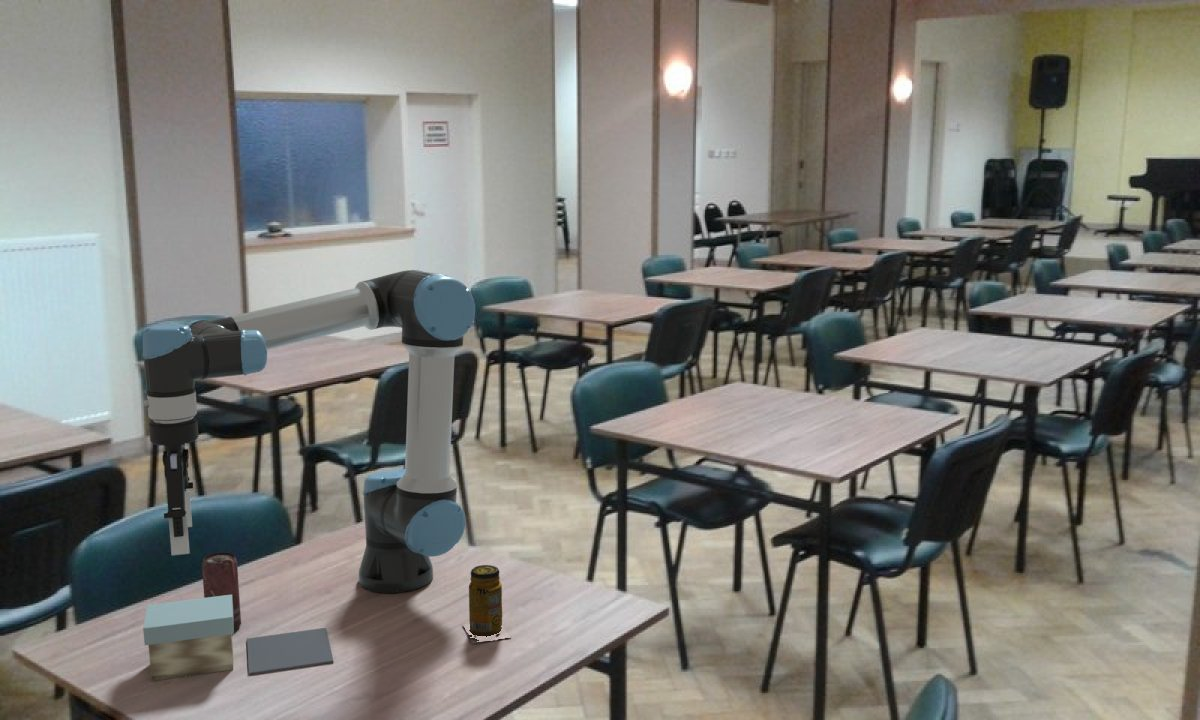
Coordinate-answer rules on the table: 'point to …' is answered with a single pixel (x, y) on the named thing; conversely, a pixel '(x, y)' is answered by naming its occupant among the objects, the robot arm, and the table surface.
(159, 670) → the crate
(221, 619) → the lid
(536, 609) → the table surface
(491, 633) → the condiment
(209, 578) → the can
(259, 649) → the mat
